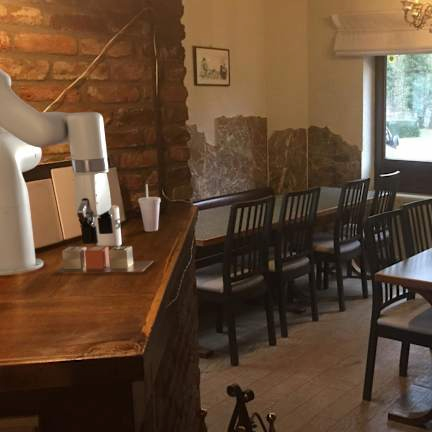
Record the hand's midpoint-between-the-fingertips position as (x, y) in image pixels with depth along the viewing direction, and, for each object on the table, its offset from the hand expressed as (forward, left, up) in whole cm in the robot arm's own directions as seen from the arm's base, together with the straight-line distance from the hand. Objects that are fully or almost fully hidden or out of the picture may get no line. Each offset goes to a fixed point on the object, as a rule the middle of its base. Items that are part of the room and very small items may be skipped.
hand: (98, 238), depth 148 cm
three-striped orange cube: (-1, 0, -7) cm, 7 cm away
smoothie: (0, +41, -8) cm, 42 cm away
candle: (-6, +23, -8) cm, 25 cm away
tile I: (-6, 0, -7) cm, 9 cm away
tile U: (+5, 0, -7) cm, 8 cm away
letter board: (+1, 0, -8) cm, 8 cm away
